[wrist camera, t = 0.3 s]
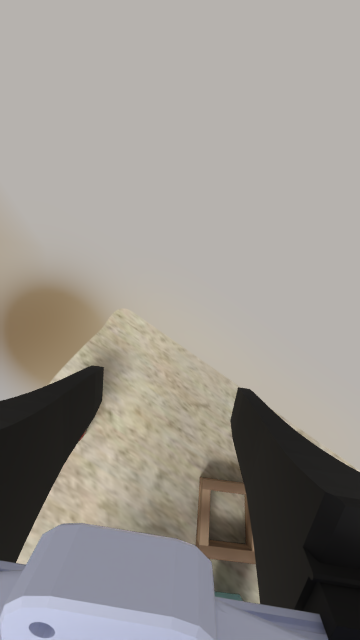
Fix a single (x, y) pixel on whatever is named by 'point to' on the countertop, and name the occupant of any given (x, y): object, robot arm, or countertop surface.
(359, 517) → the robot arm
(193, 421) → the countertop surface
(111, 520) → the countertop surface
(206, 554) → the well frame
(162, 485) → the countertop surface
